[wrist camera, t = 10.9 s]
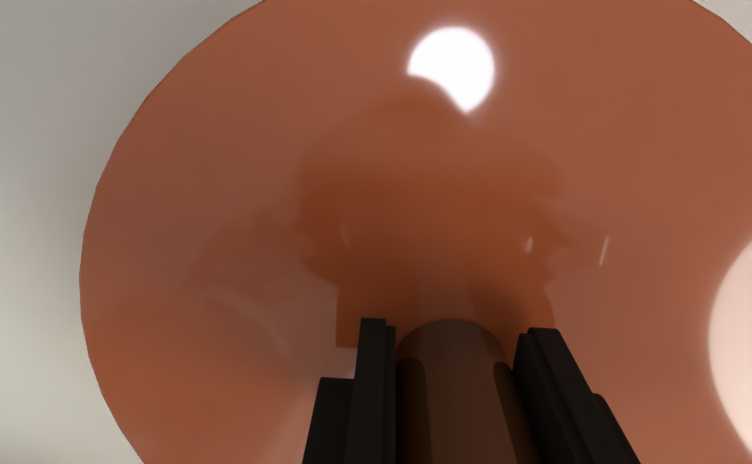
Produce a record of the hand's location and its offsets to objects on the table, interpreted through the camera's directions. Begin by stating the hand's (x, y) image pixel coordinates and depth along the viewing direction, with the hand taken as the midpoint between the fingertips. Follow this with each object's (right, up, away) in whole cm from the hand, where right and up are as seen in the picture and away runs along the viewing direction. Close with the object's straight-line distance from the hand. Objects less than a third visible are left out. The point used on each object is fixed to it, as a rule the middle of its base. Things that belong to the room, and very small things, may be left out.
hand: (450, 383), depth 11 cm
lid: (0, 0, +1) cm, 1 cm away
